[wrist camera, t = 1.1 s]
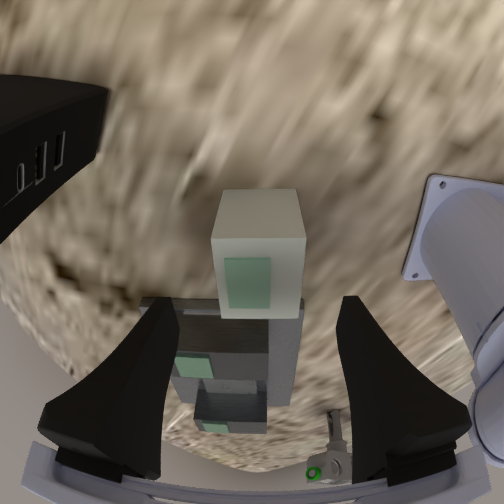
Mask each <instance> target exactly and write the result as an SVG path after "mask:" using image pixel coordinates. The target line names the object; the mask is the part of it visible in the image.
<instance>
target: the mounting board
mask: <svg viewBox="0 0 504 504" xmlns="http://www.w3.org/2000/svg"><path fill="white" fill-rule="evenodd" d="M155 299H156V298H142V300H141V303H140V305H139V308H140V311H141V314H142V316H143V315H144V313H145V312H146V311H147V309H148V308H149V307H150V305H151V304H152V303H153V301H154V300H155ZM171 300H172V303H173V307H174V310H175V313H176V317H177V320H178V323H179V327H180V333H179V341H178V348H177V353H176V357H175V361H174V365H173V368H172V372H171V376H170V379H171V382H172V384H173V386H174V388H175V390H176V392H177V394H178V396H179V398H180V400H181V401H182V403H194V404H195V411H194V418H193V419H194V421H195V423H196V425H197V427H198V429H199V431H206V432H215V433H244V434H266V430H267V406H289V405H290V399H291V393H292V388H293V382H294V376H295V370H296V364H297V357H298V351H299V344H300V338H301V331H302V324H303V316H304V302H303V299H300V308H299V316H298V318H296V319H224V318H221V311H220V304H219V300H207V299H171Z"/></svg>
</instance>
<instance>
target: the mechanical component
mask: <svg viewBox="0 0 504 504" xmlns="http://www.w3.org/2000/svg"><path fill="white" fill-rule="evenodd" d="M327 419H328V429H329V439H330V441H329V443H328V444H326V448H327V451H326V452H323V453H320V454H316V455H313V456H310V457H309V458H308V460H307V471H306V477H307V484H321V485H338V484H343V483H348V482H350V483H352V453H347V447H346V444H347V441H344V440H343V439H342V431H341V423H340V415H339V410H333V411H332V412H331V413H327Z"/></svg>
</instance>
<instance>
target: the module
mask: <svg viewBox="0 0 504 504" xmlns="http://www.w3.org/2000/svg"><path fill="white" fill-rule="evenodd" d="M211 246H212V254H213V261H214V269H215V276H216V283H217V290H218V297H219V304H220V311H221V318H224V319H296V318H298V316H299V308H300V299H301V290H302V280H303V270H304V260H305V249H306V233H305V229H304V224H303V219H302V215H301V210H300V206H299V201H298V197H297V193H296V189H227V190H223V194H222V197H221V201H220V205H219V208H218V212H217V216H216V220H215V224H214V227H213V231H212V235H211Z"/></svg>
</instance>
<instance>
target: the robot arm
mask: <svg viewBox="0 0 504 504" xmlns="http://www.w3.org/2000/svg"><path fill="white" fill-rule="evenodd" d="M442 181H443V184H442V185H441V186H439V185H440V183H441V182H442ZM414 273H416V274H414ZM413 274H414V275H413ZM402 277H403V279H404V280H405V281H414V280H434V282H435V284H436V286H437V288H438V289H439V291H440V293H441V295H442V297H443V298H444V300H445V302H446V304H447V306H448V308H449V310H450V312H451V314H452V316H453V318H454V320H455V322H456V324H457V326H458V328H459V330H460V332H461V334H462V336H463V338H464V340H465V342H466V345H467V347H468V349H469V351H470V354H471V356H472V358H473V360H474V363H475V366H474V368H473V370H472V371H471V373H470V374H471V376H472V379H473V382H474V384H475V387H476V389H475V390H474V392H473V393H472V396H471V398H470V400H469V404H468V408H467V406H466V405H464V404H463V403H461V402H460V401H458V400H456V399H455V398H453V397H452V396H450V395H449V394H447V393H446V392H444V391H443V390H442V389H440V388H439V387H438V386H436V385H435V384H434V383H433V382H431V381H430V380H429V379H428V378H427V377H426V376H424V375H423V374H422V373H421V372H420V371H419V370H418V369H417V368H416V367H415V366H413V365H412V364H411V362H410V361H409V360H408V359H407V358H406V357H405V356H404V355H403V354H402V353H401V352H400V351H399V350H398V348H397V347H396V346H395V345H394V344H393V343H392V341H391V340H390V339H389V338H388V336H387V335H386V334H385V332H384V331H383V330H382V329H381V327H380V326H379V325H378V323H377V322H376V321H375V319H374V318H373V316H372V315H371V314H370V312H369V311H368V309H367V308H366V307H365V305H364V304H363V302H362V301H361V299H360V298H359V297H358V296H344V297H343V301H342V305H341V309H340V313H339V317H338V321H337V325H336V335H337V344H338V351H339V355H340V359H341V364H342V368H343V372H344V377H345V381H346V385H347V390H348V395H349V402H350V412H351V425H352V451H353V452H352V484H351V485H345V486H337V487H329V488H319V489H309V490H295V491H263V492H262V491H229V490H215V489H204V488H194V487H186V486H179V485H172V484H166V483H161V482H155V481H150V480H156V479H158V478H159V477H160V476H161V469H160V468H161V460H160V459H161V434H162V422H163V412H164V404H165V398H166V392H167V388H168V384H169V380H170V376H171V372H172V368H173V365H174V361H175V357H176V353H177V348H178V341H179V333H180V327H179V323H178V320H177V317H176V313H175V310H174V307H173V303H172V300H171V297H157V298H156V299H155V300H154V301H153V303H152V304H151V305H150V307H149V308H148V309H147V311H146V312H145V313H144V315H143V316H142V317H141V319H140V320H139V321H138V322H137V324H136V325H135V326H134V327H133V329H132V330H131V331H130V332H129V334H128V335H127V336H126V337H125V338H124V340H123V341H122V342H121V343H120V344H119V345H118V347H117V348H116V349H115V350H114V351H113V352H112V353H111V354H110V355H109V356H108V357H107V358H106V359H105V360H104V361H103V362H102V363H101V364H100V365H99V366H98V367H97V368H96V369H94V370H93V371H92V372H91V373H90V374H89V375H87V376H86V377H85V378H84V379H83V380H81V381H80V382H79V383H77V384H76V385H75V386H73V387H72V388H70V389H69V390H67V391H66V392H64V393H63V394H61V395H60V396H58V397H56V398H55V399H53V400H51V401H50V402H48V403H46V405H45V407H44V409H43V412H42V415H41V418H40V421H39V424H38V427H37V428H38V431H39V432H40V433H41V434H42V435H44V436H45V437H46V438H48V439H49V440H51V441H52V442H53V443H55V444H56V445H58V446H59V448H58V451H56V450H54V449H52V448H49V447H47V446H44V445H42V444H39V443H38V442H35V441H33V442H32V445H31V448H30V451H29V455H28V458H27V462H26V465H25V469H24V473H23V477H22V481H21V486H22V487H24V488H25V489H27V490H29V491H31V492H33V493H35V494H37V495H38V496H40V497H42V498H44V499H46V500H48V501H50V502H52V503H54V504H171V503H167V502H162V501H158V500H155V499H154V498H153V497H158V498H163V499H168V500H174V501H181V502H188V503H196V504H328V503H335V502H341V501H348V500H355V499H356V500H355V501H354V502H352V503H347V504H468V503H470V502H472V501H474V500H476V499H477V498H480V497H482V496H484V495H486V494H487V493H489V492H490V491H491V485H490V480H489V475H488V470H487V466H486V462H487V463H489V464H491V465H493V466H496V467H501V468H504V185H502V184H497V183H491V182H485V181H479V180H472V179H466V178H459V177H451V176H444V175H436V174H435V175H432V176H430V177H429V178H428V181H427V185H426V190H425V194H424V198H423V202H422V206H421V210H420V214H419V218H418V222H417V226H416V229H415V233H414V236H413V240H412V243H411V246H410V250H409V253H408V256H407V259H406V262H405V266H404V269H403V272H402ZM467 431H468V434H469V437H470V440H471V442H472V445H473V447H472V448H470V449H467V450H465V451H462V452H460V453H458V454H456V455H455V453H454V449H456V447H457V445H456V442H455V441H456V440H457V439H458V438H460V437H461V436H462V435H463V434H465V433H466V432H467ZM137 477H138V478H137ZM140 478H142V479H140ZM145 479H148V480H145Z"/></svg>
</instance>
